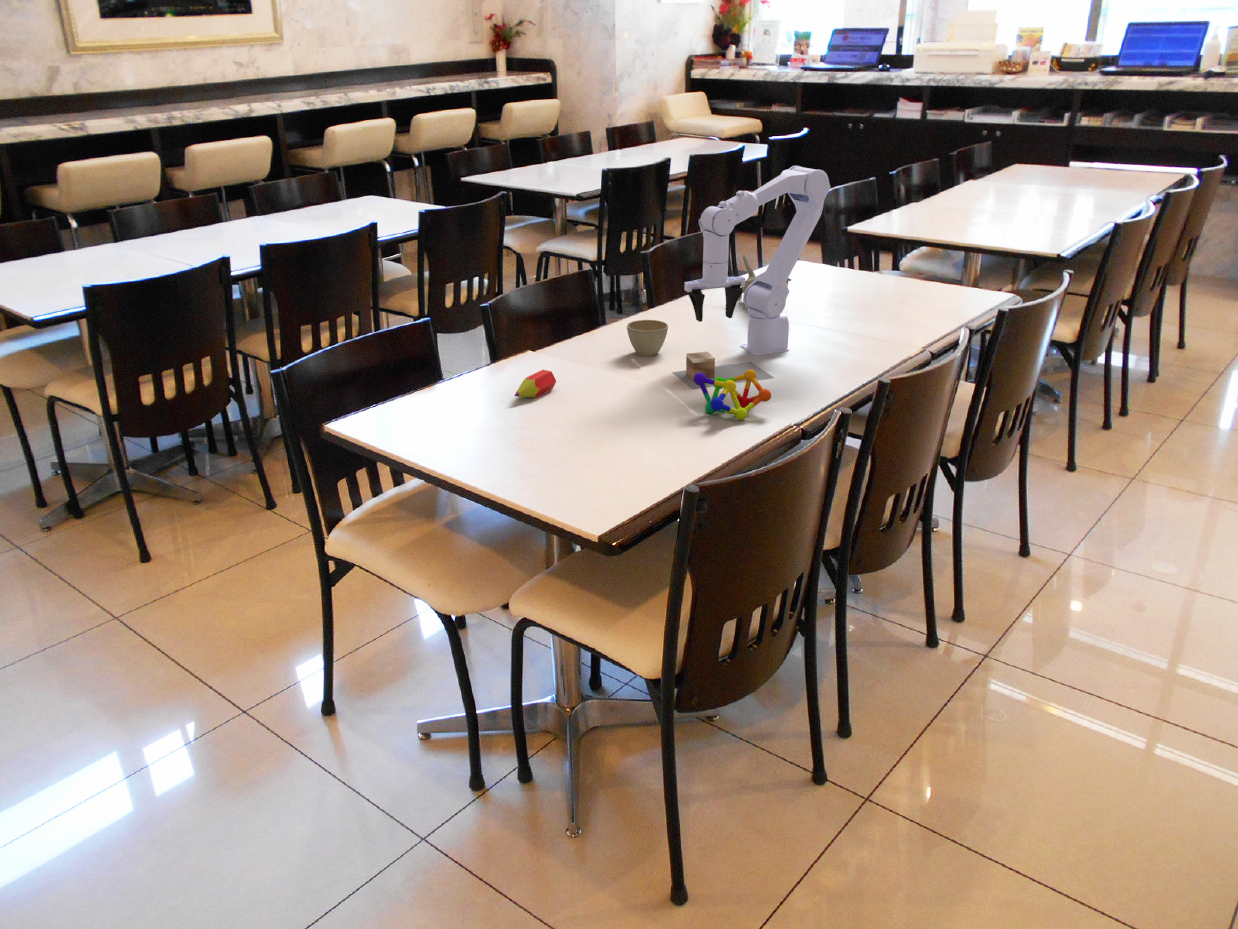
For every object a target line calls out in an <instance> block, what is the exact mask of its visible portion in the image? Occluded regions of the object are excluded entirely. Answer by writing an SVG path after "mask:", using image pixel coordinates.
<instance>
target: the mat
mask: <svg viewBox="0 0 1238 929" xmlns="http://www.w3.org/2000/svg"><path fill="white" fill-rule="evenodd" d="M749 369H751V370H754V371H755V372H756V375H757V376H756V380H757V381H761V380H768V379H775V377H774V376H773V375H772V374H770V373H768V372H766V370H764V369H762V368H761V367H759V366H758V365H756V364H755V363H753V361H745V362H739V363H732V364H724V365H717V366H716V365H715V377H714V379H715V378H716V377H722V378H724V379H728V378H732V377H736V376H740V375H744V373H745V371H747V370H749ZM672 374H673V375H674V376H676V377H677V378H678V379H680V380H681V382H683V383H684V384H686V385H687V386H688V387H689V388H691V389H692V390H697V389H701V387H700V385H697V384H695V382H693V381H692V380H691V379H690V378H689V377H688V376H687V375H686V369H685V370H678V371H672ZM735 383H736V384H739V383H746V380H741V381H736V382H735ZM704 384H705V386H706V388H711V387H714V386H713V385H712V384H708V383H704Z"/></svg>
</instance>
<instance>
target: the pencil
mask: <svg viewBox="0 0 1238 929" xmlns="http://www.w3.org/2000/svg"><path fill="white" fill-rule="evenodd" d="M553 373H554V372H553V371H551V370H547V369H541V370H540V371H539V370H538V371H537V372H535V373H533V374H531V375H529V376H526V377H525V378H524V379H523V381H522V382H521V384H520V385H519V388H518V389H517V391H516V392H515V394H514V396H513V397H517V398H529V399H530V398H531V399H533V398H538V397H539V396H541V395H544V394H545V393H548V392H550V391H552V390H553V389H554V387H555V385H556V384H557V380H556V377H555V376H554V374H553ZM551 389H552V390H551ZM549 390H550V391H549Z"/></svg>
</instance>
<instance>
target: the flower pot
mask: <svg viewBox="0 0 1238 929" xmlns="http://www.w3.org/2000/svg"><path fill="white" fill-rule="evenodd" d="M668 328H669V324H668V323H666V322H665V321H661V320H658V319H657V320H656V319H639V320H638V319H637V320H634V321H633V320H632V321H630V322H628V323H627V324H626V331H627V334H628V338H629V342H630V344H631V347H633V350H634V351H635V353H636V354H637V355H639V356H641V357H642V356H644V357H646V356H647V357H648V356H649V357H650V356H651V357H652V356H655V355H657V354H658V353H659V352H660V351H661V349H662V347H663V345H664V342H665V340H666V337H667V334H668V330H669V329H668Z"/></svg>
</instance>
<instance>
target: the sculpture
mask: <svg viewBox="0 0 1238 929" xmlns="http://www.w3.org/2000/svg"><path fill="white" fill-rule="evenodd" d="M742 259H743V264H744V266H745V269H746V271H747V274H748V277H747V279H745V286H741V288H743V292H742V294H741V296H740V297H739V298H741V299H743V294H744V292H745V290H746V288H747V287H748V286H749V285H751V284H752V283H753V281H754V279H755V278H756V275H755V272H754V269H753V267H752V265H751V263H750V262H749V259H748V258H747V256H746V255H745V254H743V255H742ZM791 281H792V278H789V277H788V279H787V281H786V283H787V286H788V285H789V282H791ZM788 287H789V286H788ZM770 289H772V288H770Z"/></svg>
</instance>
